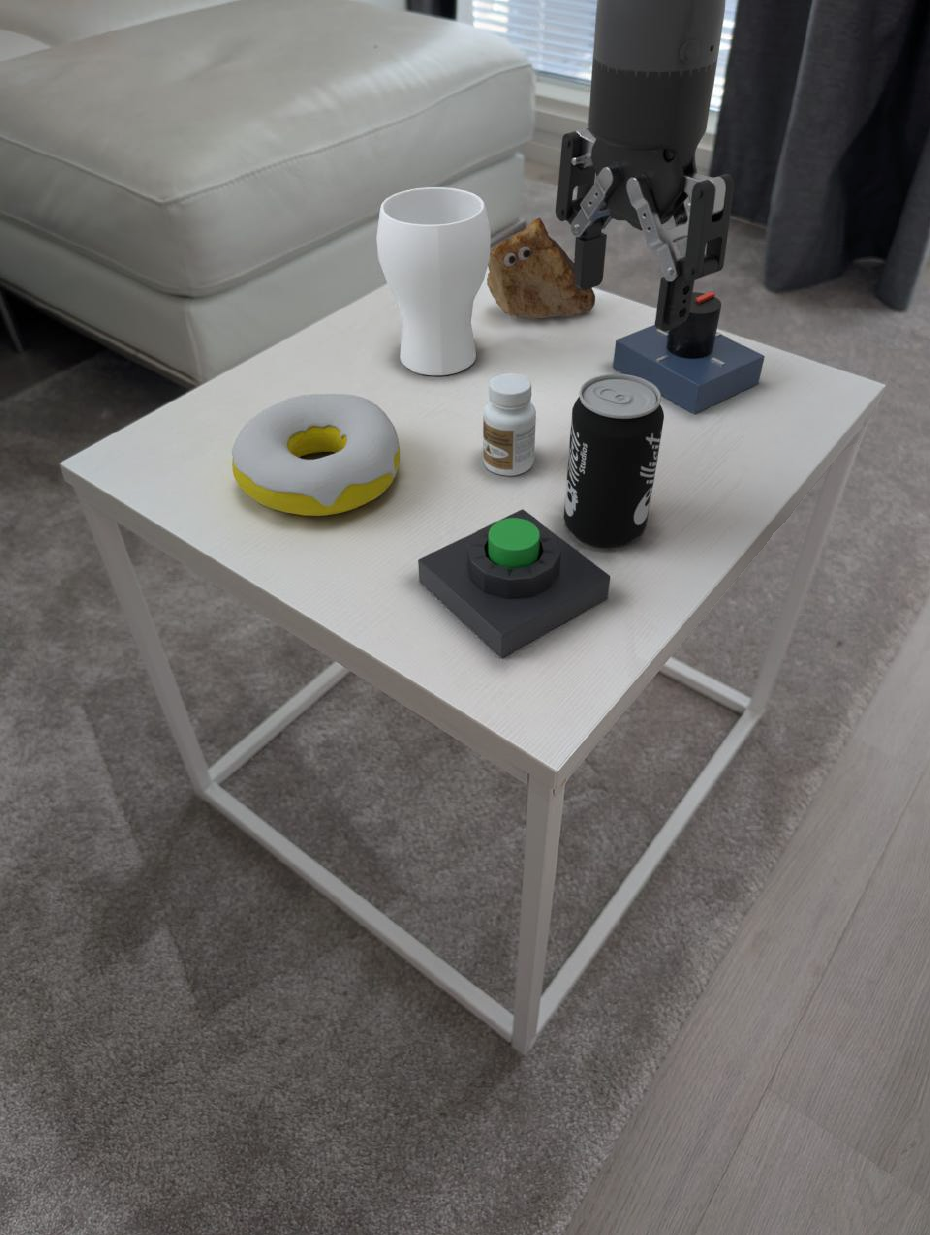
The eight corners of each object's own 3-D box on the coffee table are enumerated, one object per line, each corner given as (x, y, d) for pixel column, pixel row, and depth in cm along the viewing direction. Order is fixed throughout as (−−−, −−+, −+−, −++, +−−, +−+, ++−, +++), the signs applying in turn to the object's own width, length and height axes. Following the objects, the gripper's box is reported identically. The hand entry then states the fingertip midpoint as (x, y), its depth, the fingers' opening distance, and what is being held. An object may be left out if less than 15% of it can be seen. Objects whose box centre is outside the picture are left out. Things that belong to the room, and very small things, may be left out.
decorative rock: (492, 333, 96) (493, 230, 89) (477, 308, 100) (477, 208, 93) (599, 318, 98) (608, 216, 91) (580, 294, 102) (587, 195, 95)
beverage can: (618, 564, 69) (638, 429, 61) (547, 532, 72) (555, 399, 64) (660, 521, 73) (683, 388, 65) (590, 492, 76) (604, 361, 68)
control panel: (612, 367, 91) (615, 338, 89) (675, 341, 94) (680, 312, 92) (694, 414, 84) (699, 384, 82) (758, 383, 88) (765, 354, 86)
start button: (517, 530, 67) (518, 511, 66) (549, 555, 65) (550, 536, 63) (478, 549, 65) (478, 530, 64) (509, 576, 63) (510, 557, 62)
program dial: (692, 363, 85) (701, 314, 82) (656, 346, 87) (663, 298, 84) (722, 348, 87) (732, 300, 84) (686, 331, 90) (694, 284, 86)
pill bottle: (472, 461, 79) (472, 381, 74) (510, 442, 81) (512, 364, 76) (506, 483, 77) (508, 403, 72) (544, 464, 79) (548, 384, 74)
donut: (327, 416, 85) (320, 367, 81) (436, 470, 78) (434, 420, 75) (207, 484, 77) (194, 434, 74) (317, 551, 71) (308, 499, 67)
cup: (496, 335, 96) (497, 186, 85) (482, 387, 88) (482, 231, 78) (397, 329, 97) (387, 182, 87) (376, 380, 90) (362, 225, 79)
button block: (522, 530, 72) (523, 489, 70) (608, 598, 67) (613, 557, 64) (418, 581, 68) (416, 540, 65) (501, 658, 62) (502, 617, 60)
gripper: (789, 63, 52) (736, 327, 64) (621, 21, 61) (600, 261, 72) (697, 85, 49) (658, 359, 61) (533, 38, 58) (526, 286, 69)
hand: (626, 305), depth 66 cm, fingers open, 8 cm apart
